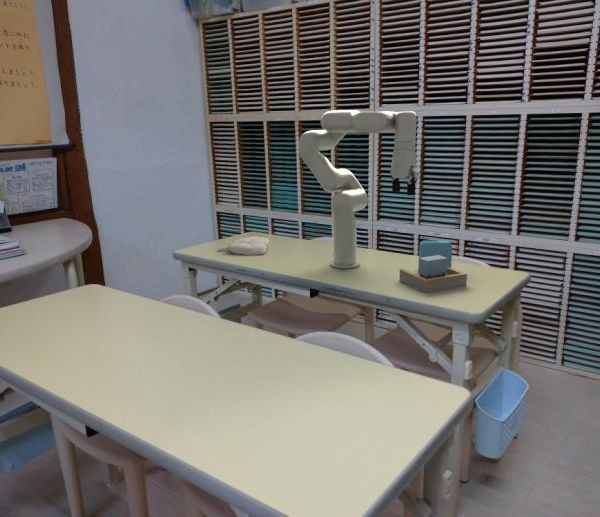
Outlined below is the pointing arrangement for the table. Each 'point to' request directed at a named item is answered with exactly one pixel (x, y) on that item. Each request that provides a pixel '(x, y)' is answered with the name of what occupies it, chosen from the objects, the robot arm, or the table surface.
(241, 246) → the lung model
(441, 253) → the data package
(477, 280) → the table surface
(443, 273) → the grey-blue rounded box
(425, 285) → the tray
